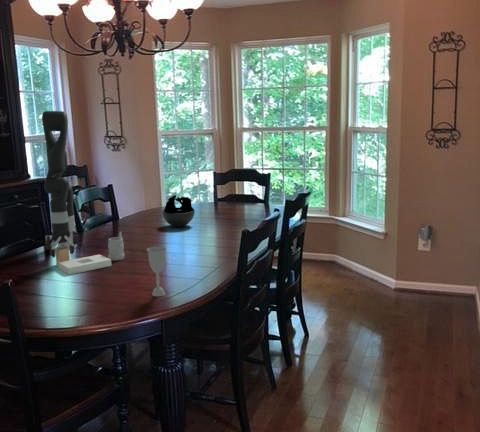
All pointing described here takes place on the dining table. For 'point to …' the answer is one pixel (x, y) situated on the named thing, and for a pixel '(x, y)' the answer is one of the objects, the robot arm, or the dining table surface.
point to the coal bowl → (178, 211)
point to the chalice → (157, 266)
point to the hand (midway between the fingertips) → (62, 255)
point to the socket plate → (84, 264)
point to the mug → (116, 248)
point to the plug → (62, 254)
